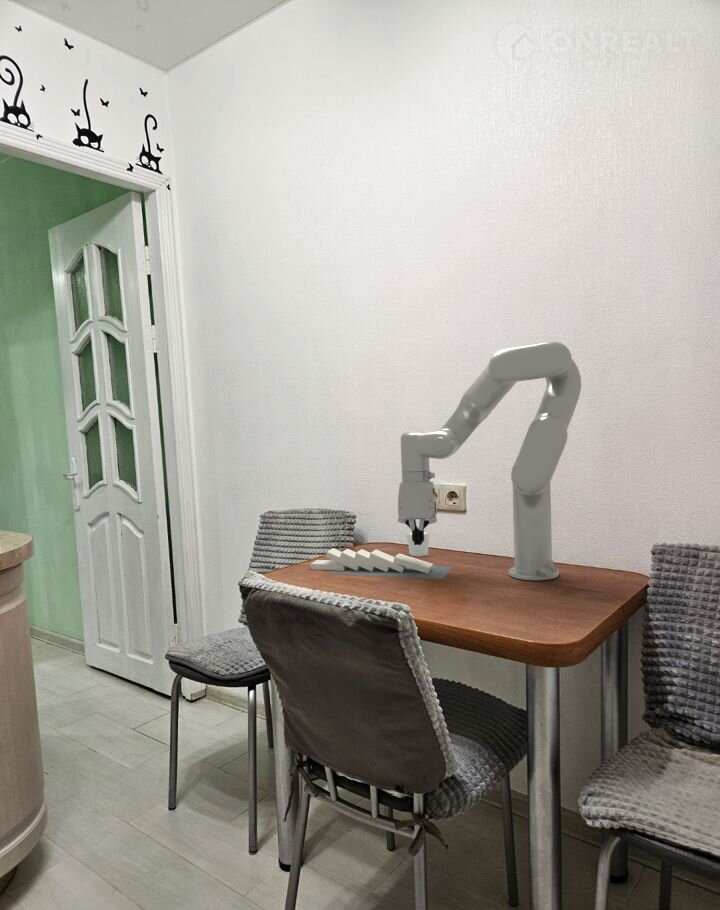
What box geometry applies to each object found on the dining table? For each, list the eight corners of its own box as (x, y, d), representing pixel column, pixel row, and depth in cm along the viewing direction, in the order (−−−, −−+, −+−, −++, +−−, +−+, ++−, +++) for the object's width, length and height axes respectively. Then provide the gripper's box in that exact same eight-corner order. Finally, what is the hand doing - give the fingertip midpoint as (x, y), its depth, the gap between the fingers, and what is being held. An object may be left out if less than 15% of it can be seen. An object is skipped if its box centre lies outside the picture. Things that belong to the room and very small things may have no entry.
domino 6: (433, 563, 179) (399, 553, 182) (429, 568, 174) (394, 557, 177) (432, 569, 179) (397, 558, 182) (427, 573, 174) (393, 562, 177)
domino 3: (378, 562, 184) (347, 548, 186) (373, 566, 179) (341, 552, 182) (377, 567, 184) (345, 553, 187) (371, 571, 179) (339, 557, 182)
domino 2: (364, 561, 185) (333, 548, 188) (358, 565, 180) (326, 551, 183) (362, 566, 185) (331, 553, 188) (356, 570, 181) (325, 556, 183)
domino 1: (349, 560, 187) (316, 559, 190) (343, 564, 182) (310, 563, 185) (349, 566, 187) (317, 565, 190) (343, 570, 182) (310, 569, 185)
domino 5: (408, 563, 181) (375, 549, 184) (403, 567, 176) (370, 552, 179) (406, 568, 181) (374, 554, 184) (401, 572, 176) (368, 558, 179)
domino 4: (393, 562, 182) (361, 549, 185) (388, 566, 178) (356, 552, 180) (391, 567, 183) (359, 554, 185) (386, 572, 178) (354, 557, 181)
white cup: (403, 555, 201) (402, 532, 200) (422, 552, 204) (422, 530, 203) (414, 559, 194) (413, 535, 194) (434, 556, 197) (433, 533, 197)
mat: (452, 567, 182) (452, 566, 182) (443, 580, 168) (442, 578, 168) (345, 563, 192) (345, 562, 192) (328, 575, 179) (328, 574, 179)
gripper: (445, 475, 177) (448, 542, 178) (393, 476, 182) (395, 541, 183) (440, 478, 170) (442, 547, 171) (385, 479, 175) (388, 546, 176)
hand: (418, 544), depth 177 cm, fingers closed
